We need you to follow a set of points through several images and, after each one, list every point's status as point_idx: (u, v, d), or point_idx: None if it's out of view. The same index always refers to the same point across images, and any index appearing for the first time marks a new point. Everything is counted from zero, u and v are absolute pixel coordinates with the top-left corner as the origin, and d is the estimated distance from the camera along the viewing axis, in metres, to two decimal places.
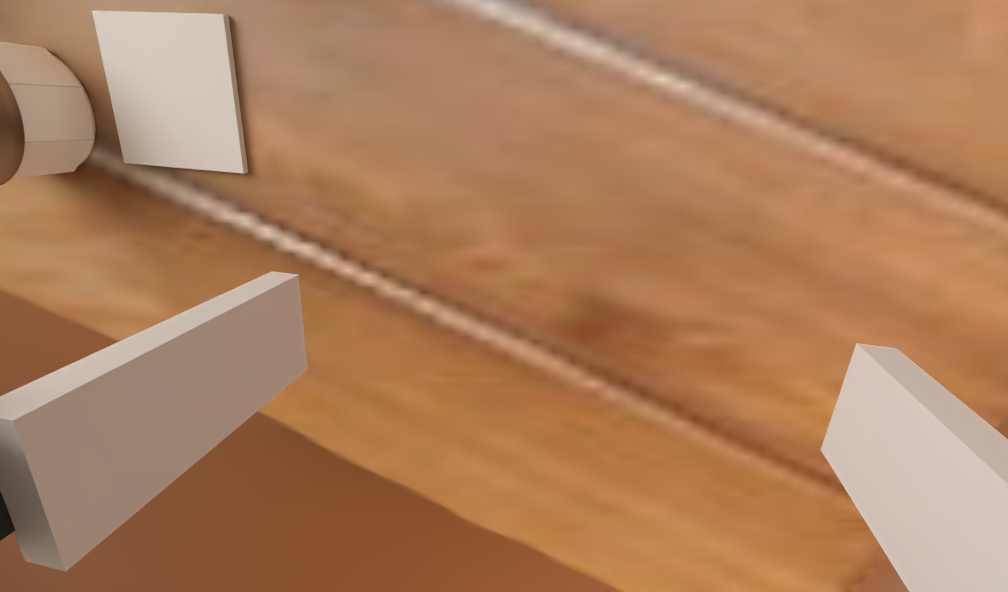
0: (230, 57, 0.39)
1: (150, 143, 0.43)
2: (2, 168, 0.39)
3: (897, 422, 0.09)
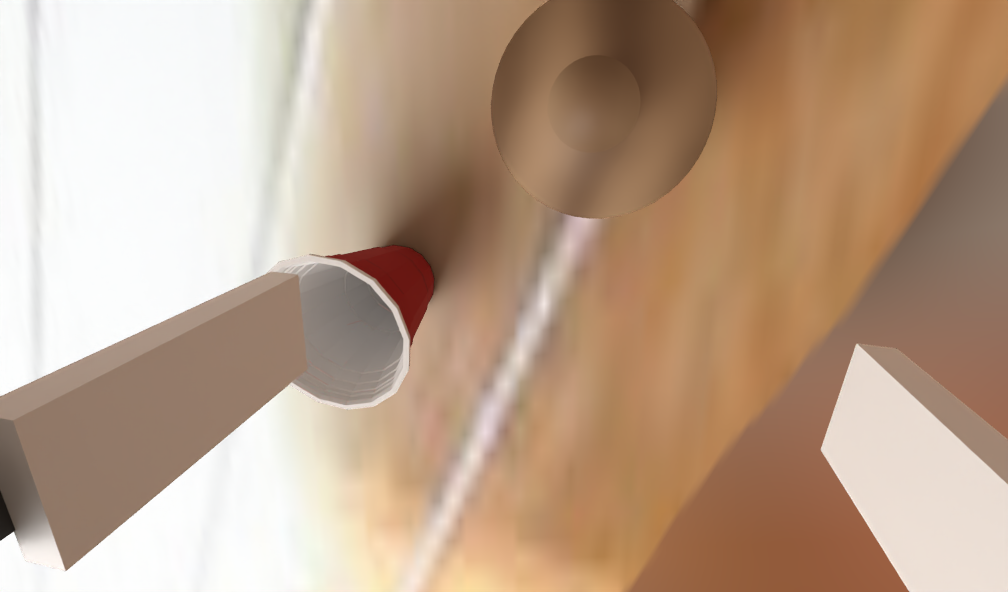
0: None
1: None
2: (690, 18, 0.25)
3: (897, 422, 0.09)
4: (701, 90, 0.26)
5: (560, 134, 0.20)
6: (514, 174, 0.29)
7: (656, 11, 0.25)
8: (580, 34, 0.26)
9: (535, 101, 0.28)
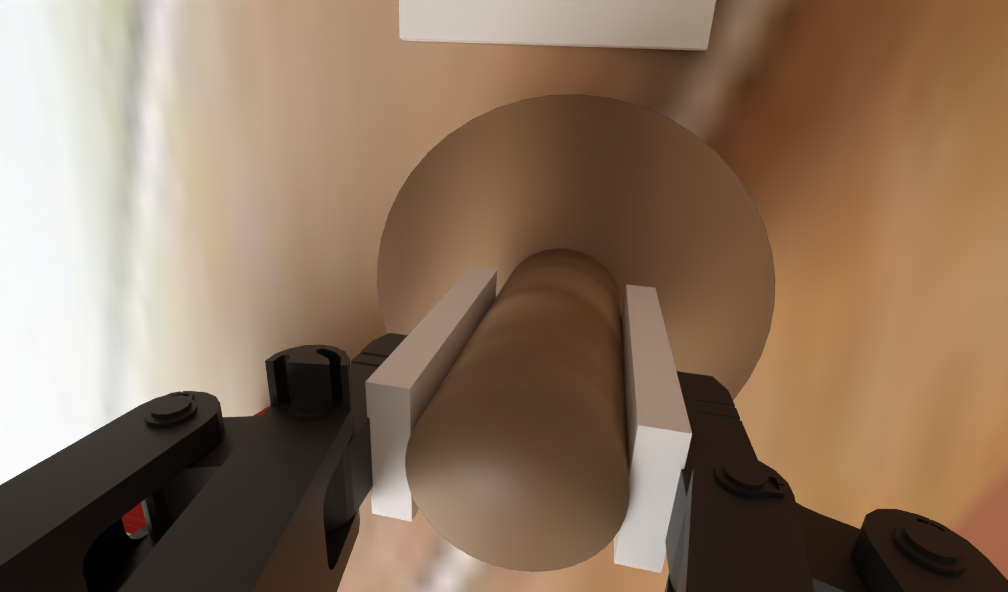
0: None
1: None
2: (730, 169, 0.13)
3: (624, 336, 0.12)
4: (746, 291, 0.14)
5: (439, 525, 0.08)
6: None
7: (665, 153, 0.13)
8: (525, 183, 0.14)
9: (451, 285, 0.16)
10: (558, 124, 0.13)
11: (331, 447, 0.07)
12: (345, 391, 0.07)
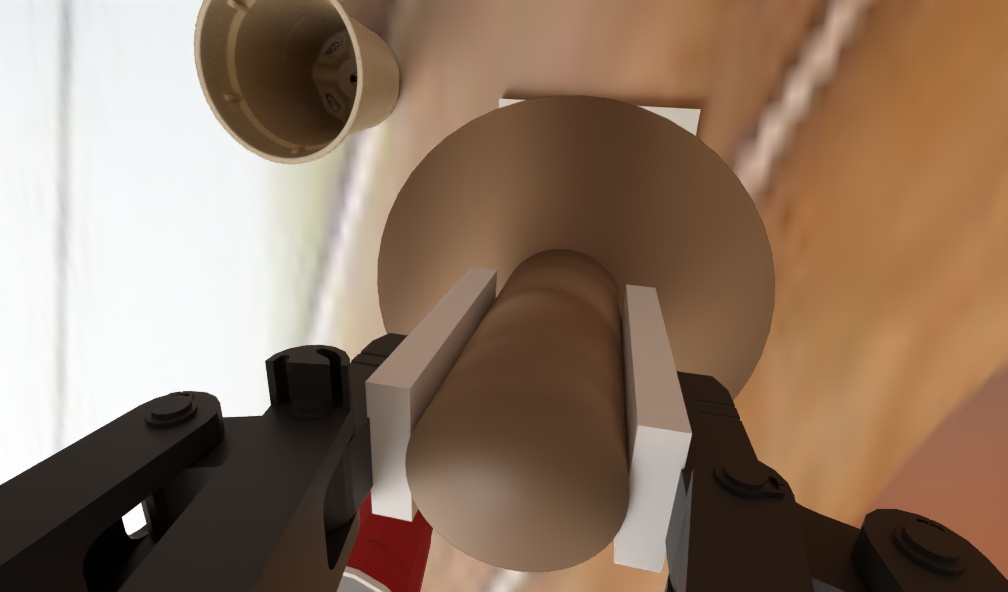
0: None
1: None
2: (730, 170, 0.13)
3: (624, 336, 0.12)
4: (745, 292, 0.14)
5: (439, 526, 0.08)
6: None
7: (664, 154, 0.13)
8: (526, 184, 0.14)
9: (451, 285, 0.16)
10: (558, 125, 0.13)
11: (331, 447, 0.07)
12: (345, 391, 0.07)
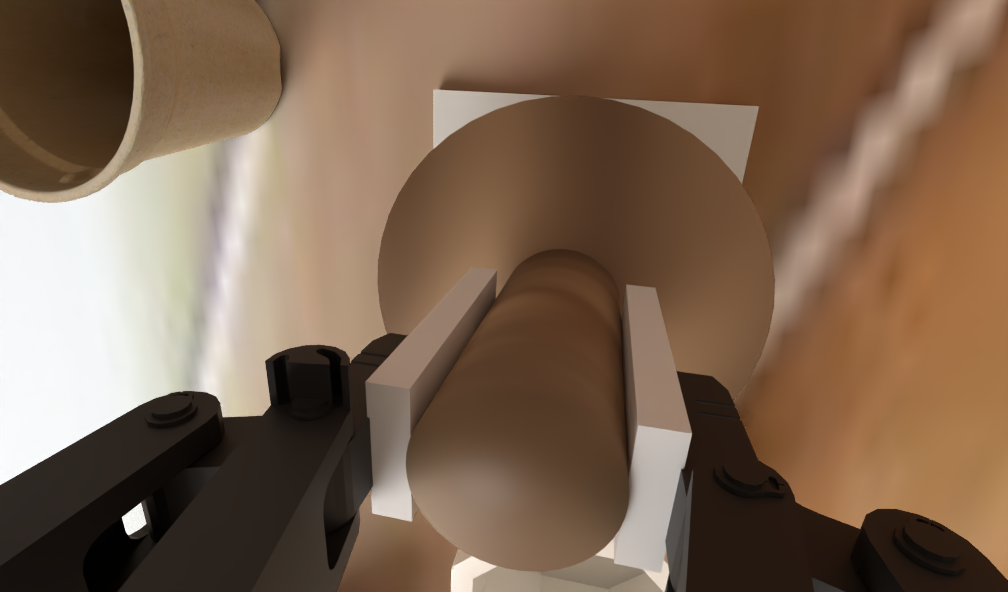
0: (509, 93, 0.19)
1: None
2: (729, 170, 0.13)
3: (625, 336, 0.12)
4: (745, 292, 0.14)
5: (439, 526, 0.08)
6: None
7: (664, 155, 0.13)
8: (526, 184, 0.14)
9: (451, 285, 0.16)
10: (558, 125, 0.14)
11: (331, 447, 0.07)
12: (345, 391, 0.07)
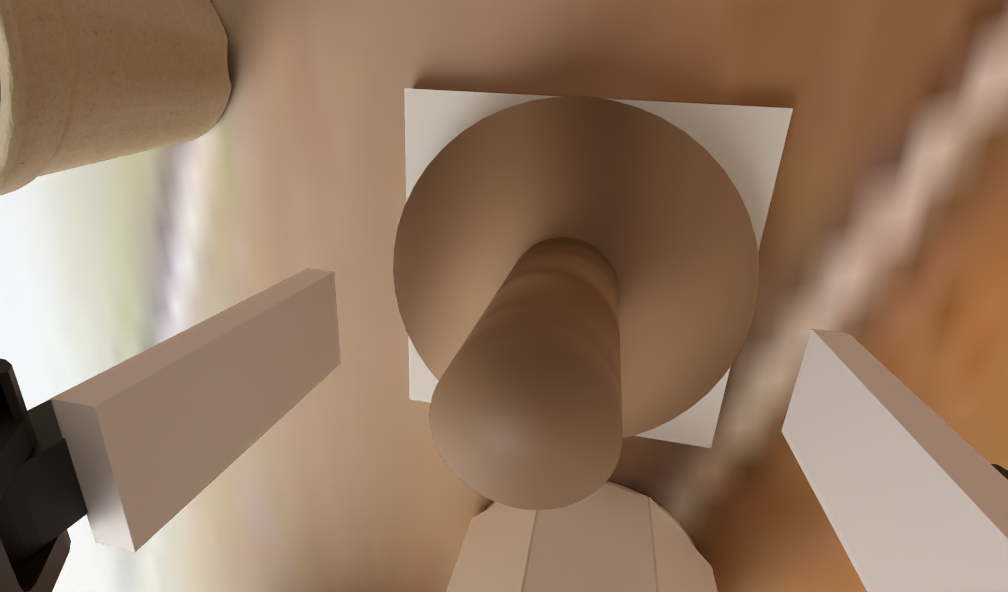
0: (494, 93, 0.16)
1: None
2: (718, 164, 0.14)
3: (842, 400, 0.09)
4: (733, 276, 0.15)
5: (458, 470, 0.10)
6: (434, 371, 0.19)
7: (658, 150, 0.14)
8: (531, 177, 0.15)
9: (461, 271, 0.17)
10: (561, 123, 0.15)
11: None
12: (12, 401, 0.07)
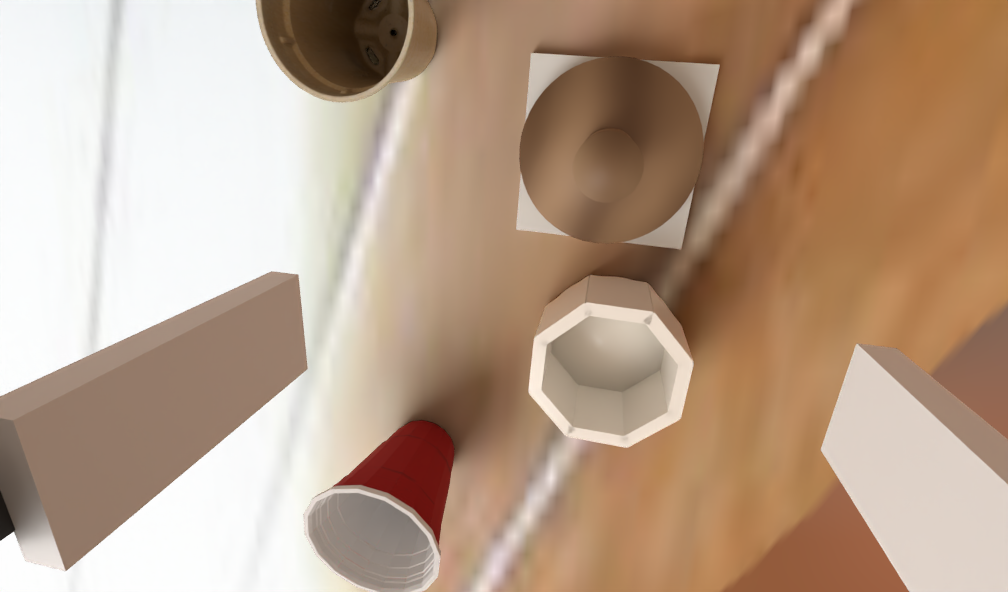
0: (576, 56, 0.33)
1: None
2: (684, 89, 0.31)
3: (897, 422, 0.09)
4: (691, 146, 0.32)
5: (581, 187, 0.26)
6: (536, 204, 0.35)
7: (657, 82, 0.31)
8: (596, 96, 0.32)
9: (556, 147, 0.34)
10: (612, 69, 0.31)
11: None
12: None
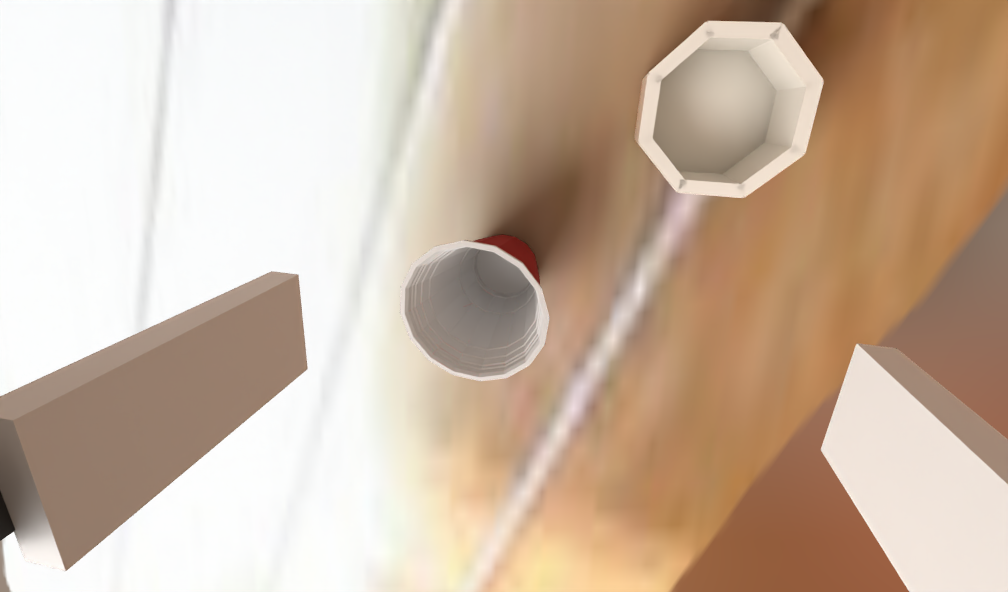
0: None
1: None
2: None
3: (897, 422, 0.09)
4: None
5: None
6: None
7: None
8: None
9: None
10: None
11: None
12: None
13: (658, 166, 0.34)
